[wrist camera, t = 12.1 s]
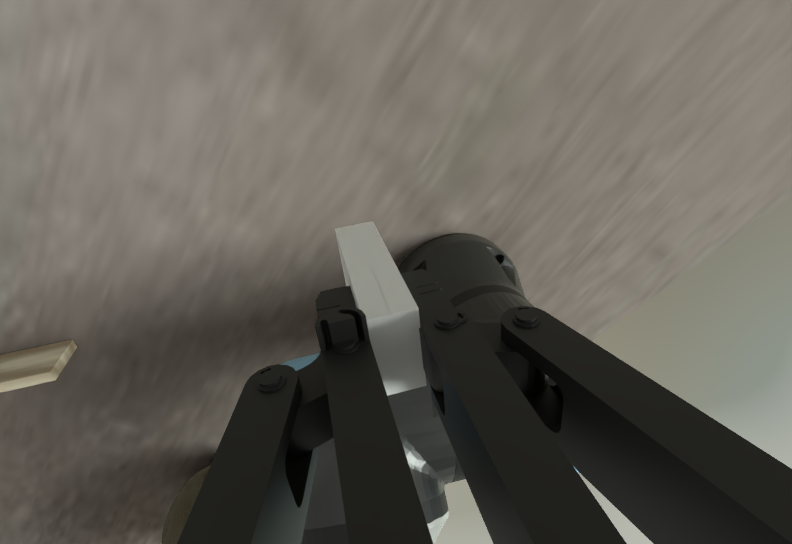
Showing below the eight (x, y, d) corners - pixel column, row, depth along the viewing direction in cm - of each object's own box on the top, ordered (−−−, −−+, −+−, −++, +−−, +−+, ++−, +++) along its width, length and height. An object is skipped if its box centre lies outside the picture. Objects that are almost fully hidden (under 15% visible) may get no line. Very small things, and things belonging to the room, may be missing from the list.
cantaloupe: (160, 506, 57) (125, 644, 44) (197, 425, 52) (171, 552, 39) (268, 519, 62) (265, 645, 49) (310, 446, 58) (319, 564, 45)
